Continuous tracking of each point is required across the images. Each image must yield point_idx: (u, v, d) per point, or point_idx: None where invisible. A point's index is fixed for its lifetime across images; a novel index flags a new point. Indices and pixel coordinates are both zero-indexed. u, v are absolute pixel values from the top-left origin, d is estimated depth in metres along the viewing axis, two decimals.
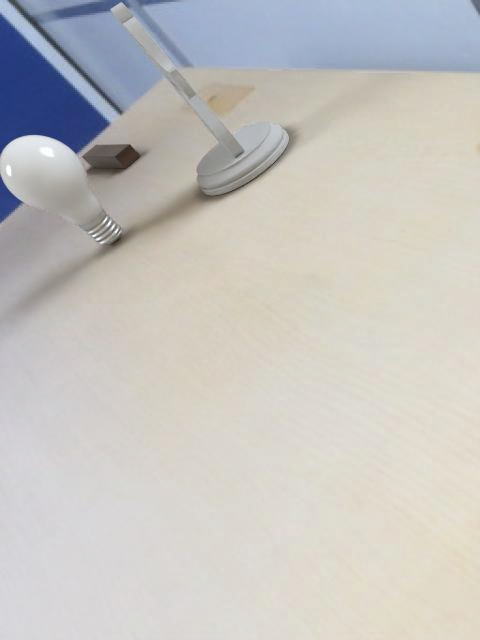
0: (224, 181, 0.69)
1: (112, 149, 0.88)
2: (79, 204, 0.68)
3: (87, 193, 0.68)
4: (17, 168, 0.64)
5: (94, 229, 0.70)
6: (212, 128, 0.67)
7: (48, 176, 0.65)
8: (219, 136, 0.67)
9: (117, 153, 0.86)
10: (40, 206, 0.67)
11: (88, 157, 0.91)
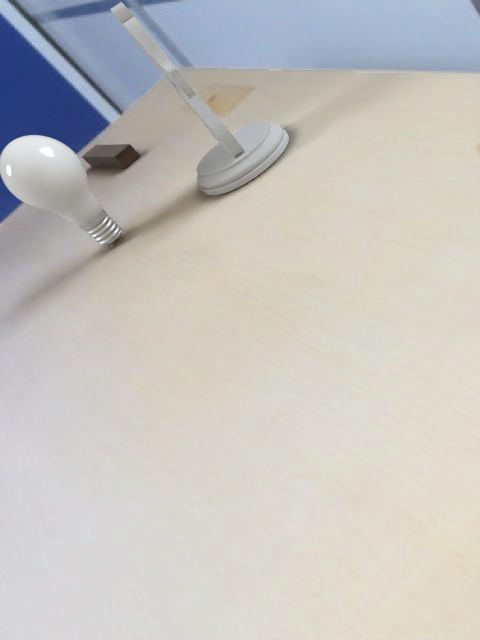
0: (224, 181, 0.69)
1: (112, 149, 0.88)
2: (79, 204, 0.68)
3: (87, 193, 0.69)
4: (17, 168, 0.64)
5: (94, 229, 0.70)
6: (212, 128, 0.67)
7: (48, 176, 0.65)
8: (219, 136, 0.67)
9: (117, 153, 0.86)
10: (40, 206, 0.67)
11: (88, 157, 0.91)
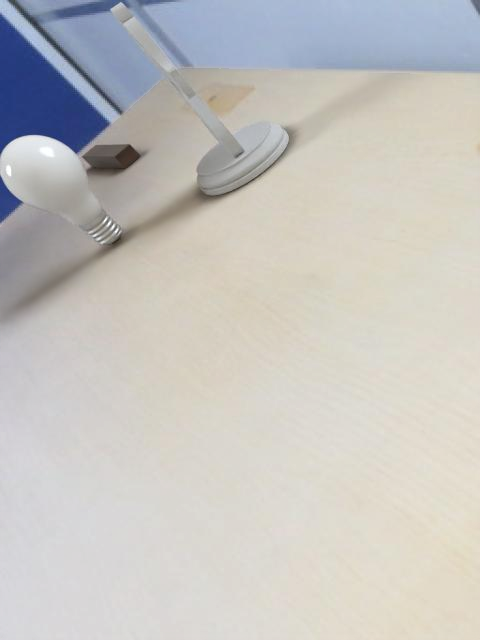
0: (224, 181, 0.69)
1: (112, 149, 0.88)
2: (79, 204, 0.68)
3: (87, 193, 0.68)
4: (17, 168, 0.64)
5: (94, 229, 0.70)
6: (212, 128, 0.67)
7: (48, 176, 0.65)
8: (219, 136, 0.67)
9: (117, 153, 0.86)
10: (40, 206, 0.67)
11: (88, 157, 0.91)
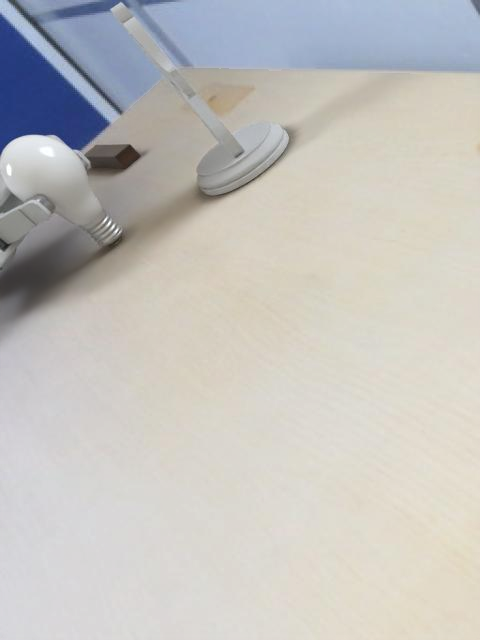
0: (224, 181, 0.69)
1: (112, 149, 0.88)
2: (79, 204, 0.68)
3: (87, 192, 0.69)
4: (17, 168, 0.64)
5: (94, 229, 0.70)
6: (212, 128, 0.67)
7: (48, 175, 0.65)
8: (219, 136, 0.67)
9: (117, 153, 0.86)
10: None
11: (88, 157, 0.91)
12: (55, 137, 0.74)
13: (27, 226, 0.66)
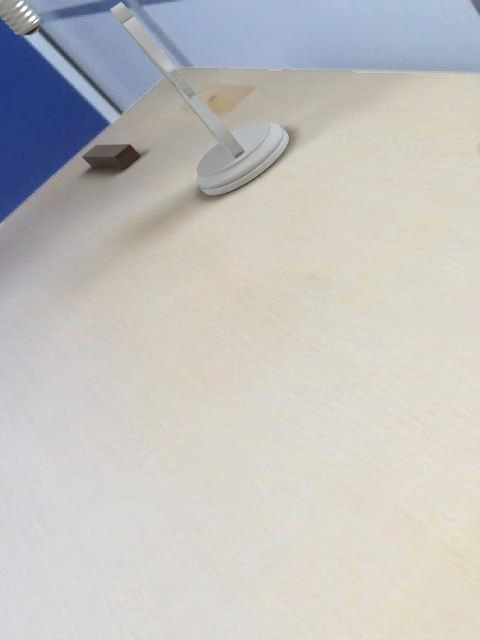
0: (224, 181, 0.69)
1: (112, 149, 0.88)
2: None
3: None
4: None
5: (10, 10, 0.66)
6: (212, 128, 0.67)
7: None
8: (219, 136, 0.67)
9: (117, 153, 0.86)
10: None
11: (88, 157, 0.91)
12: None
13: None
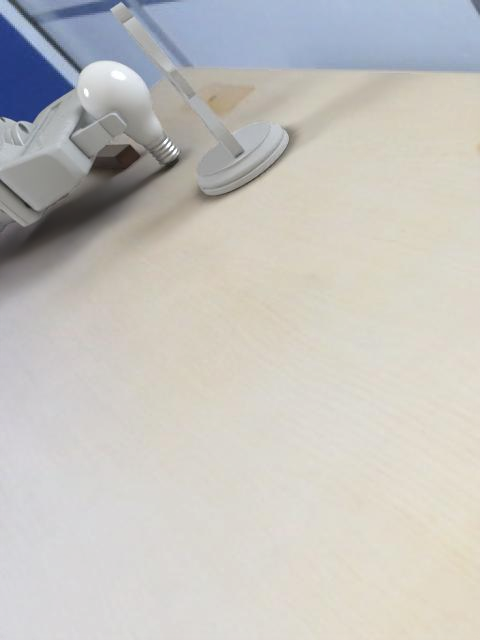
0: (224, 181, 0.69)
1: (112, 149, 0.88)
2: (148, 121, 0.77)
3: (153, 112, 0.78)
4: (99, 84, 0.73)
5: (159, 146, 0.79)
6: (212, 128, 0.67)
7: (126, 90, 0.74)
8: (219, 136, 0.67)
9: (117, 153, 0.86)
10: None
11: None
12: None
13: (106, 139, 0.73)
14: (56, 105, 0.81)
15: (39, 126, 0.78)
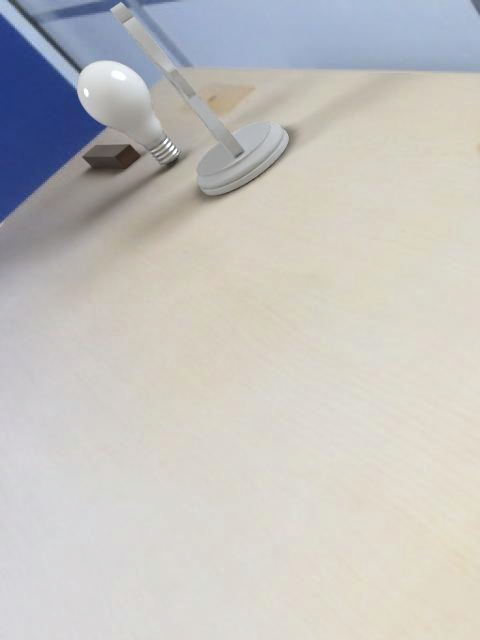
0: (224, 181, 0.69)
1: (112, 149, 0.88)
2: (148, 121, 0.77)
3: (153, 112, 0.78)
4: (99, 84, 0.73)
5: (159, 146, 0.79)
6: (212, 128, 0.67)
7: (126, 90, 0.74)
8: (219, 136, 0.67)
9: (117, 153, 0.86)
10: (117, 122, 0.75)
11: (88, 157, 0.91)
12: None
13: None
14: None
15: None
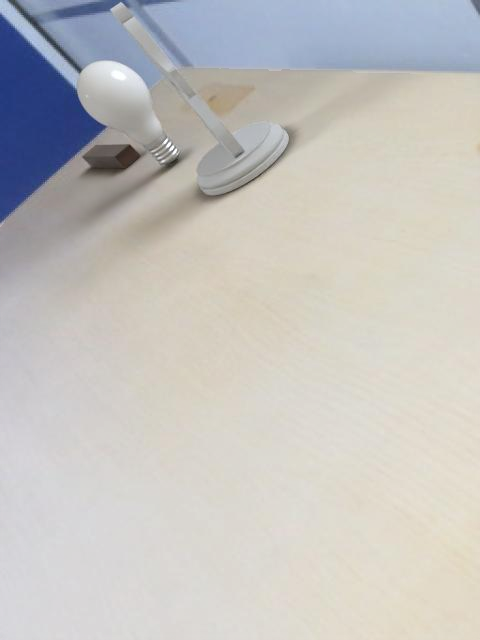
0: (224, 181, 0.69)
1: (112, 149, 0.88)
2: (148, 121, 0.77)
3: (153, 112, 0.78)
4: (99, 84, 0.73)
5: (159, 146, 0.79)
6: (212, 128, 0.67)
7: (126, 90, 0.74)
8: (219, 136, 0.67)
9: (117, 153, 0.86)
10: (117, 122, 0.75)
11: (88, 157, 0.91)
12: None
13: None
14: None
15: None
